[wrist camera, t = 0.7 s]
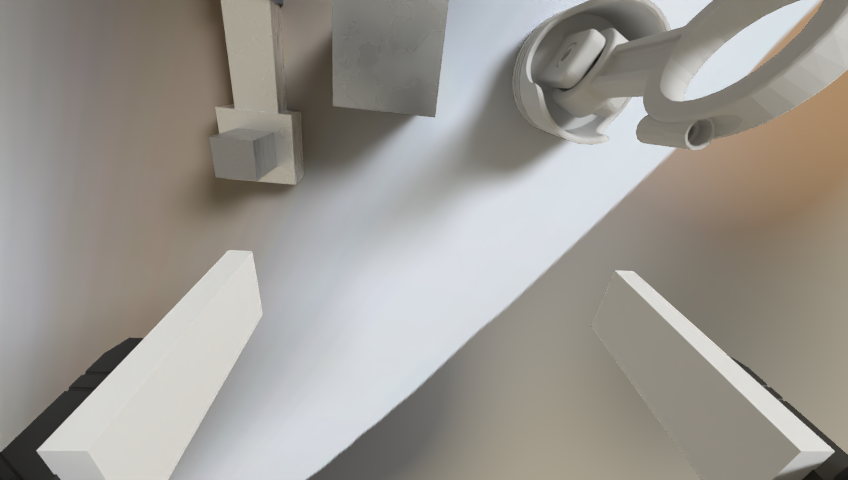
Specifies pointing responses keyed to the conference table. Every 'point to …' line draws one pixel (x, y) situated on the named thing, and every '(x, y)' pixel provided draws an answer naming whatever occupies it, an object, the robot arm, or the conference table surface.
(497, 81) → the conference table surface
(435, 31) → the grey textured cube
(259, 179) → the blue-grey beige mallet
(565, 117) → the engine component
